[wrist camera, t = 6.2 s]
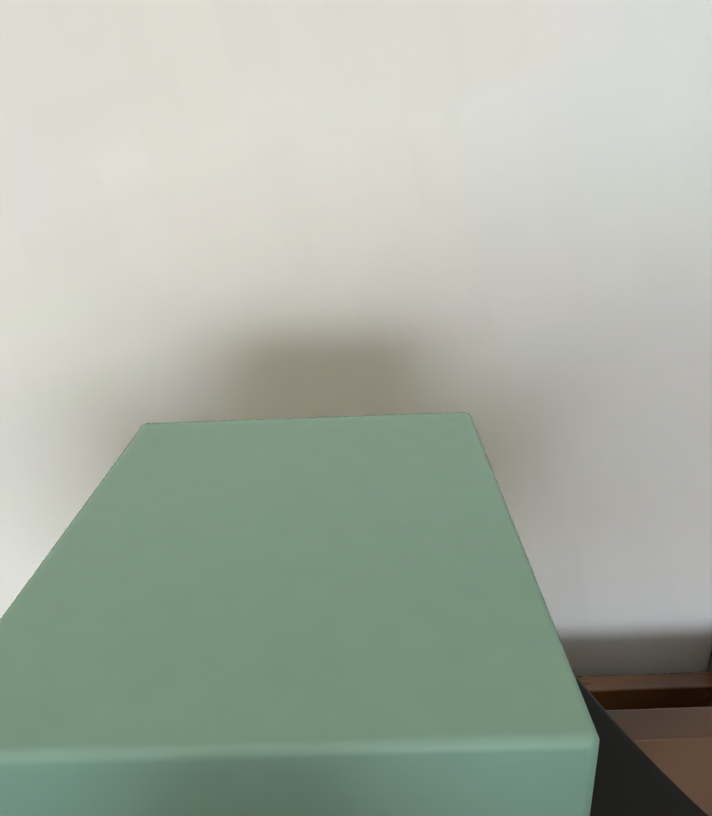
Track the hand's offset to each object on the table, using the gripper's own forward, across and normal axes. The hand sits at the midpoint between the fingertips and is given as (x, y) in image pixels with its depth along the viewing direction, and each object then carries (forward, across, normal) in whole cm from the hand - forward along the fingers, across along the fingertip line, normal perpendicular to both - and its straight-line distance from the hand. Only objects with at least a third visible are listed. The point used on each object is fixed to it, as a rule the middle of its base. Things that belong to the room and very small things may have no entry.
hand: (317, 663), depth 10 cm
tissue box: (+1, 0, 0) cm, 1 cm away
